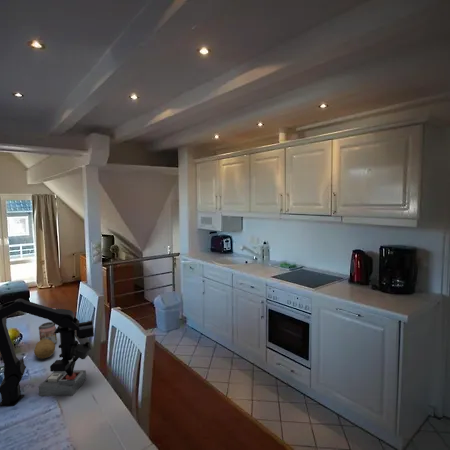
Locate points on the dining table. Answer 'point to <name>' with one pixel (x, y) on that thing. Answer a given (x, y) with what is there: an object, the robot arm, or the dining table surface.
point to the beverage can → (48, 332)
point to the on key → (54, 377)
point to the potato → (44, 348)
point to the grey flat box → (62, 384)
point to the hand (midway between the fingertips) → (70, 375)
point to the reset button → (71, 377)
